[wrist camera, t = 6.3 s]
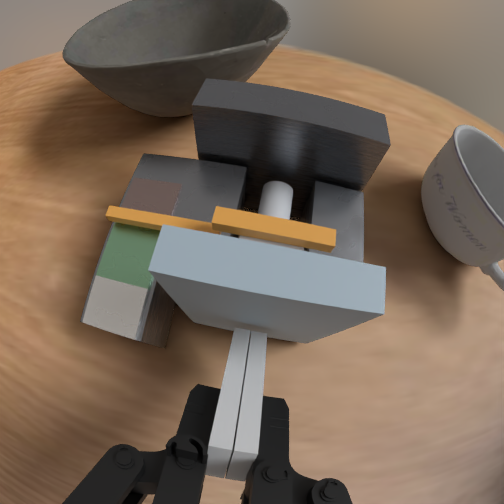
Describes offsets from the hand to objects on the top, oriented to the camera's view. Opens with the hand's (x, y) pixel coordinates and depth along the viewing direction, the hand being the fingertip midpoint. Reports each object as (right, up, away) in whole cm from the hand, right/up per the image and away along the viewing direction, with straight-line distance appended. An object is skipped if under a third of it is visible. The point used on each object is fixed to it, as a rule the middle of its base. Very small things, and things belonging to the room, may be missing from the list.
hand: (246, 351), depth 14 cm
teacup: (+19, +6, +8) cm, 21 cm away
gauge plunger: (+1, +4, +5) cm, 6 cm away
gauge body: (-1, +4, +6) cm, 7 cm away
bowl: (-6, +20, +12) cm, 25 cm away
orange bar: (-2, +6, 0) cm, 6 cm away
